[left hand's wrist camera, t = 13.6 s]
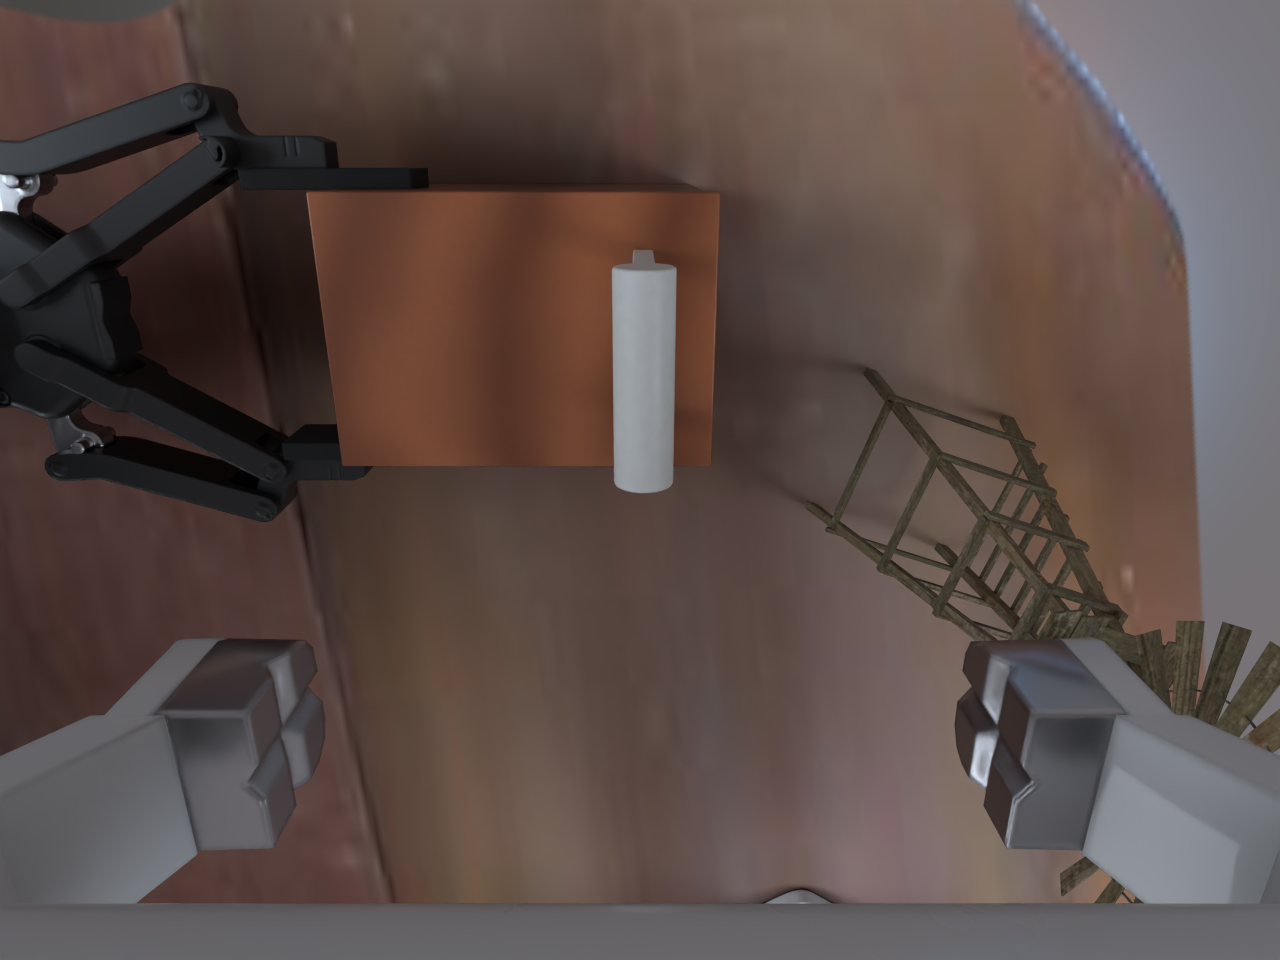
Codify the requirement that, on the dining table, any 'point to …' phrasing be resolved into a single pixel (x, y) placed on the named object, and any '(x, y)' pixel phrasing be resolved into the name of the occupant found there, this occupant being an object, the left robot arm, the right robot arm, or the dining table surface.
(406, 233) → the wooden panel with handle
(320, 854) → the dining table surface
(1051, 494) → the miniature windmill
